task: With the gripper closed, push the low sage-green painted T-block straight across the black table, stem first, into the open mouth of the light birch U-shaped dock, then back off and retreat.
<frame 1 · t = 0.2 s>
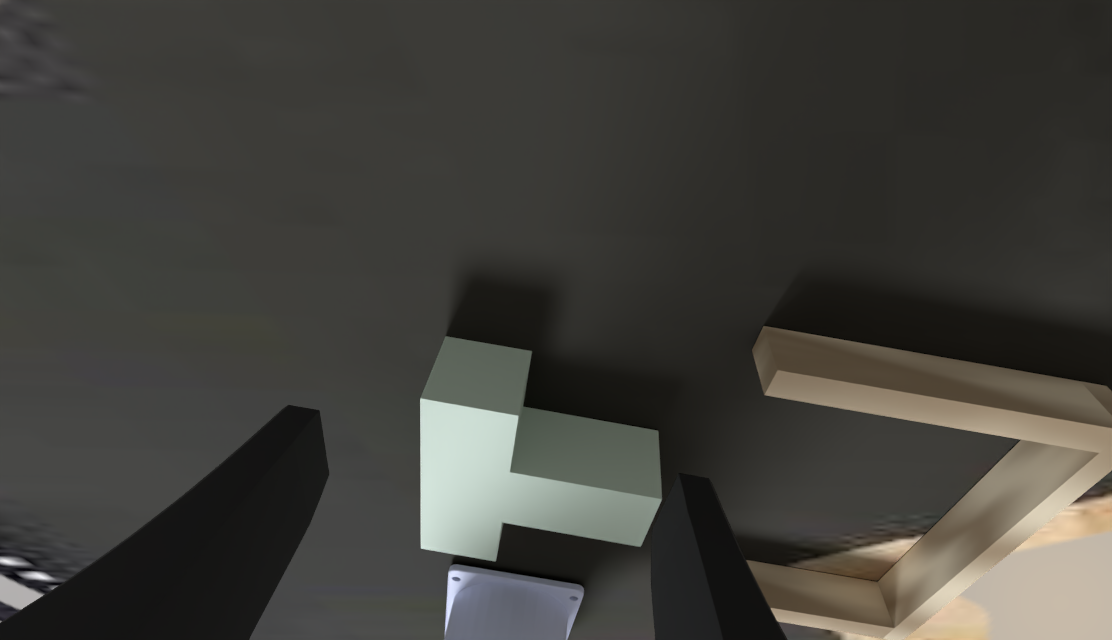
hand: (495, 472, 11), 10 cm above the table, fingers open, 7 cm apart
dock: (825, 485, 26), on the table
tee: (545, 437, 26), on the table
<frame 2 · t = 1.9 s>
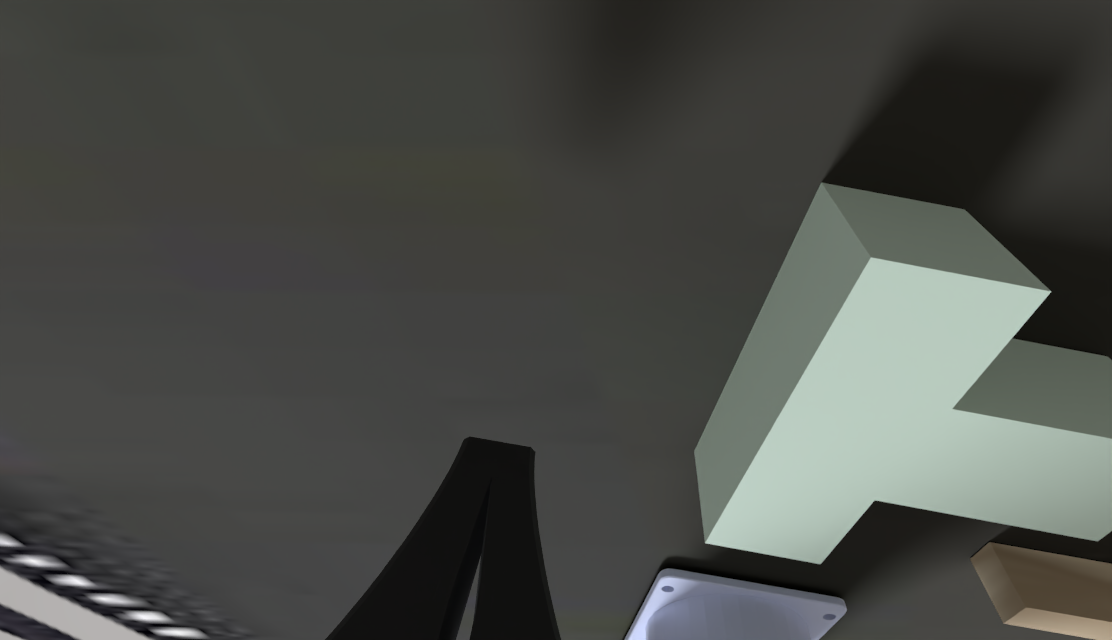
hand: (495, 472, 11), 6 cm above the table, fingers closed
tee: (905, 370, 17), on the table
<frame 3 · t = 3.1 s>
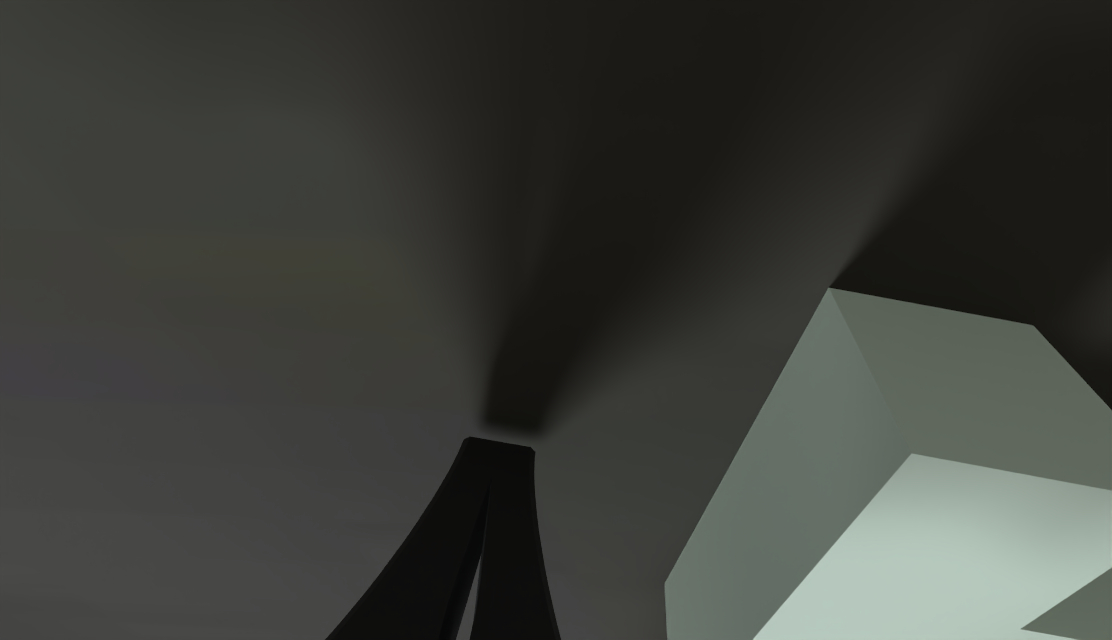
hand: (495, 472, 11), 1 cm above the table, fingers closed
tee: (936, 509, 12), on the table
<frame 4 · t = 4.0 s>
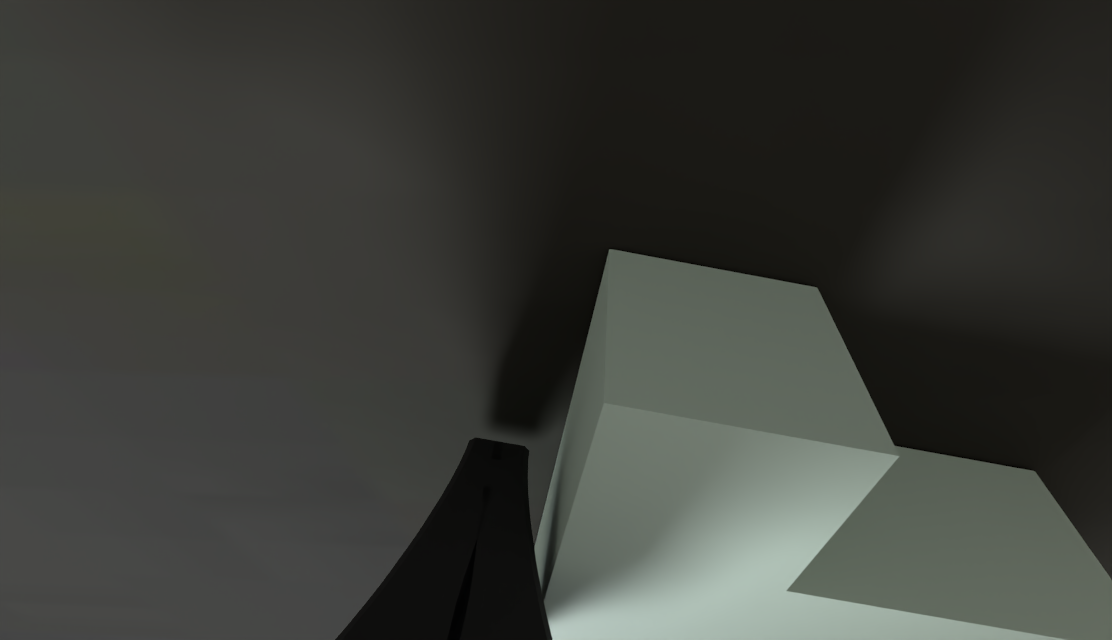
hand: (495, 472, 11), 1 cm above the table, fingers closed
tee: (772, 482, 12), on the table, touching gripper
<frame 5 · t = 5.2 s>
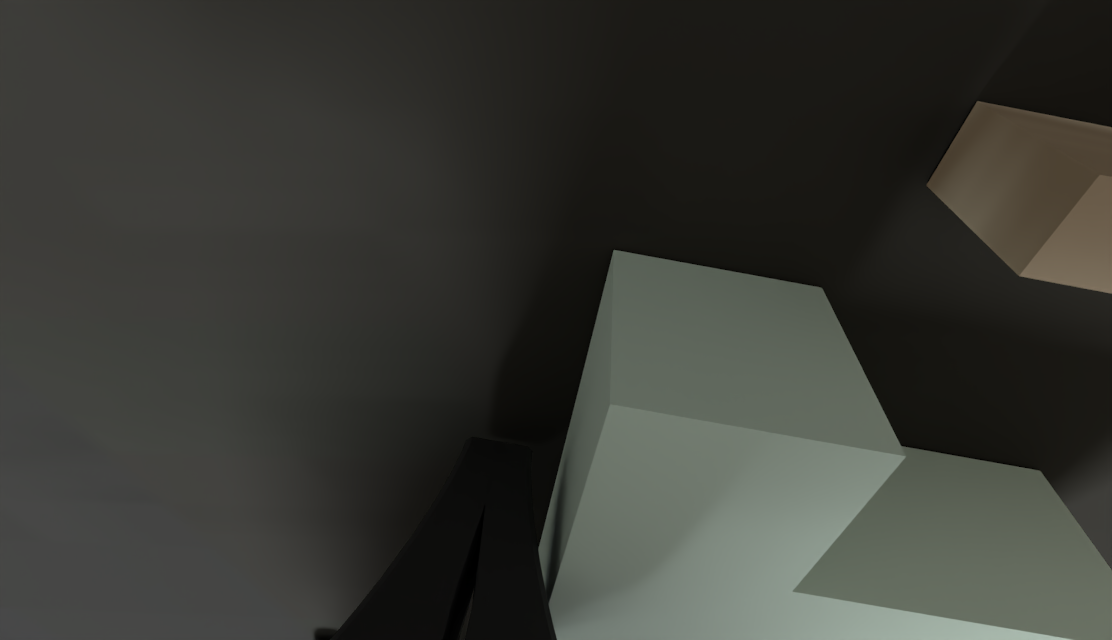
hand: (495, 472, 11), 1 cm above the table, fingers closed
dock: (1012, 525, 13), on the table
tee: (777, 482, 12), on the table, touching gripper
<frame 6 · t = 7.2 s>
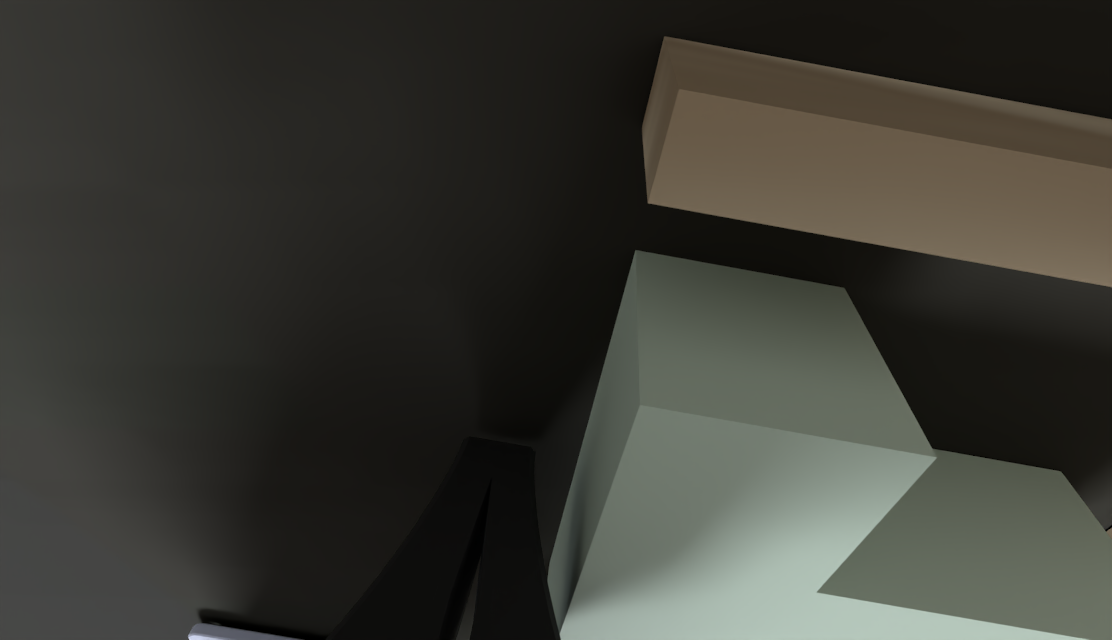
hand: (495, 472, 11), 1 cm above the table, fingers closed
dock: (833, 491, 12), on the table
tee: (794, 482, 12), on the table
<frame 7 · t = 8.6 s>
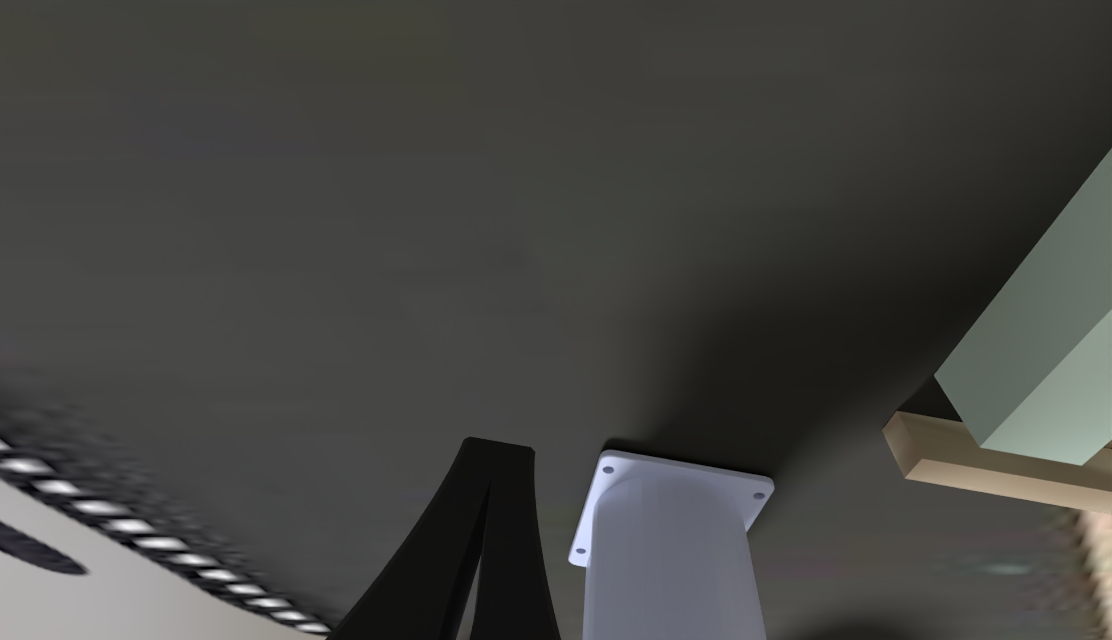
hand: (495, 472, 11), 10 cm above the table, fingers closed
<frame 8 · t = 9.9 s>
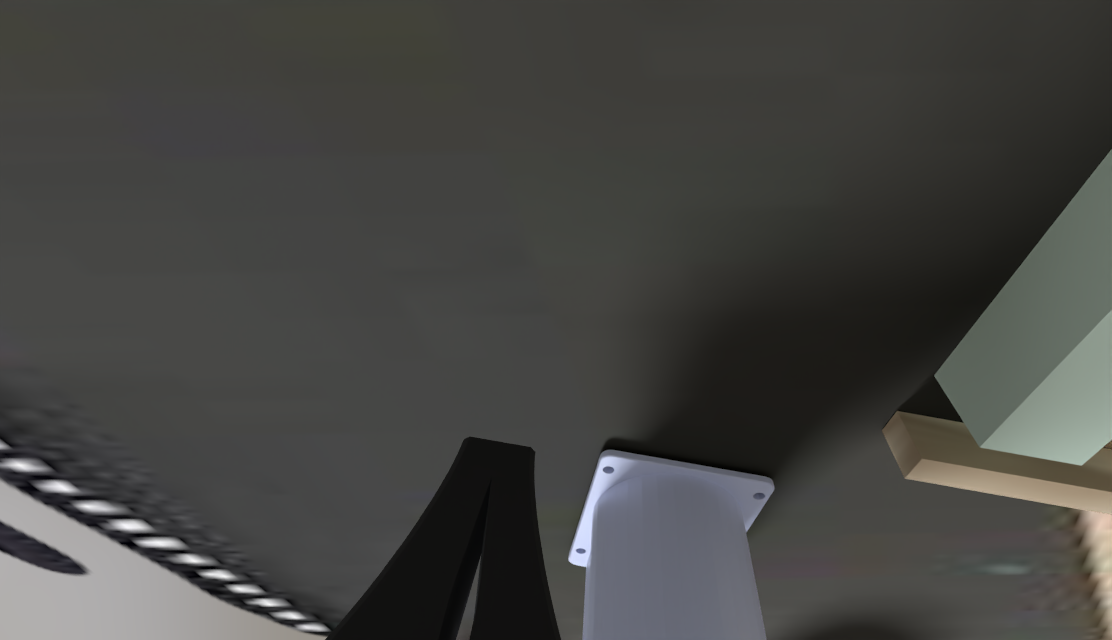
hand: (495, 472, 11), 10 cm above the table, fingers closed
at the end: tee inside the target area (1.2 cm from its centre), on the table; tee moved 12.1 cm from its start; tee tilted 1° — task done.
